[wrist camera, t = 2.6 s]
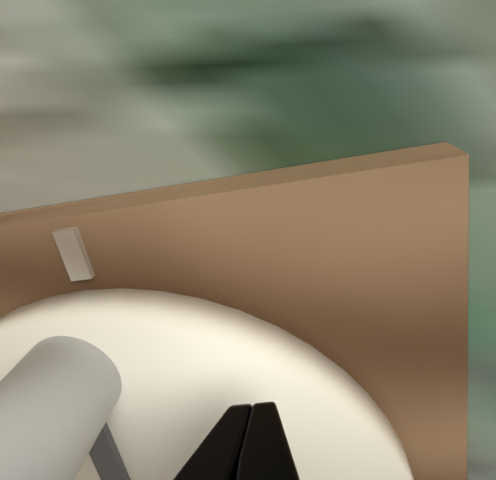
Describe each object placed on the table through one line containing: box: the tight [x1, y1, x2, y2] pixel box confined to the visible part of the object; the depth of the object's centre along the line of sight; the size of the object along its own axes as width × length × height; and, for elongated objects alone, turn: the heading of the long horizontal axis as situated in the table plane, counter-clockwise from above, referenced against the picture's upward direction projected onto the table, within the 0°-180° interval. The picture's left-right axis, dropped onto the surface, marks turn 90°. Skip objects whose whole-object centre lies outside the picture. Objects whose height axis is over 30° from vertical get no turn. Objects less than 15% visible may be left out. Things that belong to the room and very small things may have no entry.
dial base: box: [0, 142, 469, 480], centre depth 15 cm, size 20×19×2 cm
